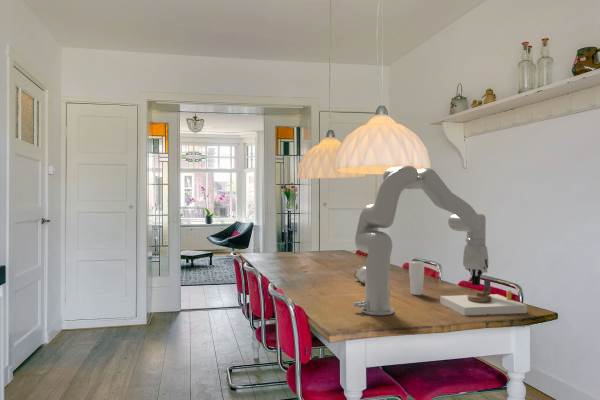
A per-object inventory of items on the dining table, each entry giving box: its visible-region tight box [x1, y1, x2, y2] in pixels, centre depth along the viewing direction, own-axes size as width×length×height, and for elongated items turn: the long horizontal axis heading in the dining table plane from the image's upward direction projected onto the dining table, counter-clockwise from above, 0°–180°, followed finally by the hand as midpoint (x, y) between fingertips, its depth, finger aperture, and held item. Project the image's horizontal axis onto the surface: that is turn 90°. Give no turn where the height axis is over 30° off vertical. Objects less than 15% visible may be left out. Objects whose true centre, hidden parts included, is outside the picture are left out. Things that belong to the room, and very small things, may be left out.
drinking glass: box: [408, 260, 425, 296], centre depth 207 cm, size 7×7×15 cm
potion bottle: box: [353, 265, 365, 285], centre depth 234 cm, size 9×10×15 cm
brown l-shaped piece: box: [467, 279, 492, 302], centre depth 184 cm, size 15×9×7 cm, turn 138°
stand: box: [439, 290, 528, 316], centre depth 182 cm, size 26×20×6 cm
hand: (475, 284), depth 193 cm, fingers closed
